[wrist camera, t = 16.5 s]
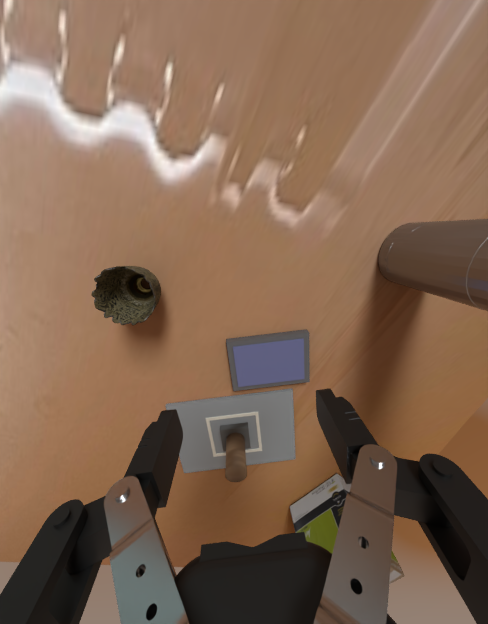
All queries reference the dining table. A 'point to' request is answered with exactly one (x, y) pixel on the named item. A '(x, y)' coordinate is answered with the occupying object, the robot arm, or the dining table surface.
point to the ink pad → (269, 359)
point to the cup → (126, 294)
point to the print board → (231, 410)
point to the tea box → (327, 517)
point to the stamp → (235, 450)
